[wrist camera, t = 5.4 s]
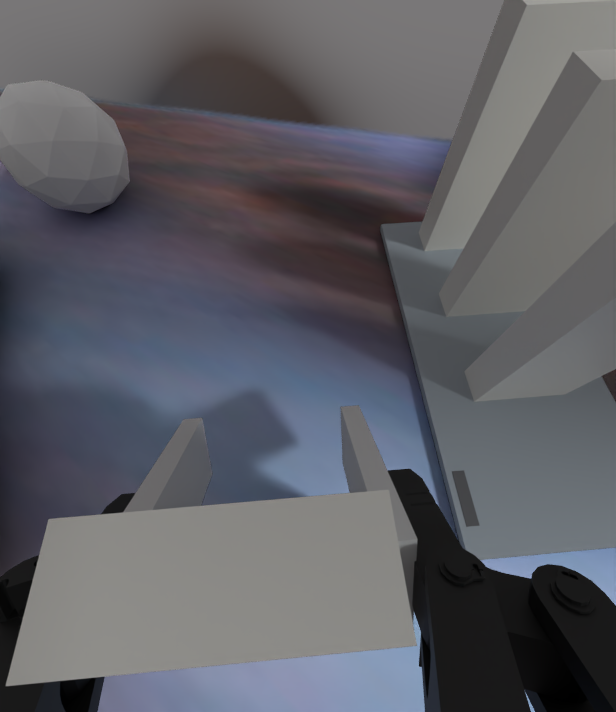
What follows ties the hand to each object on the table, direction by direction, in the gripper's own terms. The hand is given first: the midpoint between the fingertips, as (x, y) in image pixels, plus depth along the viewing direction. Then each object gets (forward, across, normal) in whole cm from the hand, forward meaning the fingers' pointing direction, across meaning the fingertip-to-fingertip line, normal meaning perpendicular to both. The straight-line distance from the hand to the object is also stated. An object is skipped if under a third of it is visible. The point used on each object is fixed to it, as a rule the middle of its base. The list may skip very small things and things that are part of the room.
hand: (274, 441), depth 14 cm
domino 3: (+8, +13, +4) cm, 16 cm away
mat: (+6, +13, +1) cm, 15 cm away
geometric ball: (+18, -14, +12) cm, 26 cm away
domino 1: (0, 0, -5) cm, 5 cm away
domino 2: (+12, +13, +8) cm, 19 cm away
